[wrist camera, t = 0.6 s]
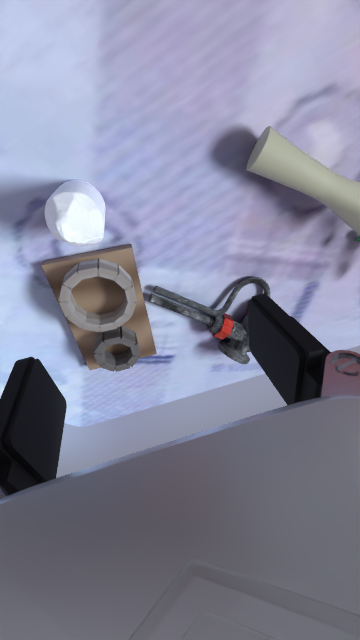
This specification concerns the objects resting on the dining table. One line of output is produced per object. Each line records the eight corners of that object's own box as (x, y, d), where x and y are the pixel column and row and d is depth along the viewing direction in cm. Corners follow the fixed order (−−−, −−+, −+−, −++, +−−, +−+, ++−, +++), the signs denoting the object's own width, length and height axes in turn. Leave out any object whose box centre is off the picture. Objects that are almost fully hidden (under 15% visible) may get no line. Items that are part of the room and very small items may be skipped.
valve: (290, 293, 52) (249, 355, 56) (175, 232, 41) (136, 314, 46) (312, 306, 46) (265, 374, 51) (186, 239, 36) (140, 332, 40)
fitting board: (43, 261, 36) (36, 275, 32) (130, 243, 37) (133, 255, 34) (90, 364, 48) (88, 383, 44) (155, 348, 49) (159, 365, 46)
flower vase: (250, 129, 39) (422, 226, 47) (217, 210, 41) (387, 291, 49) (294, 77, 28) (512, 217, 35) (246, 193, 30) (461, 302, 38)
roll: (116, 227, 24) (87, 275, 26) (113, 200, 34) (92, 237, 36) (50, 184, 21) (22, 241, 23) (67, 168, 31) (46, 209, 33)
